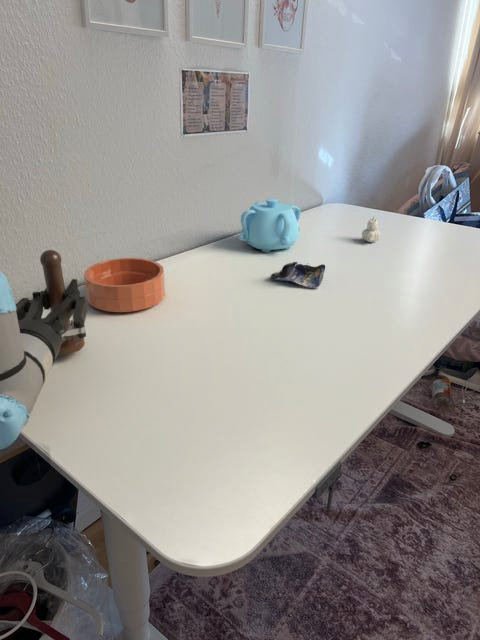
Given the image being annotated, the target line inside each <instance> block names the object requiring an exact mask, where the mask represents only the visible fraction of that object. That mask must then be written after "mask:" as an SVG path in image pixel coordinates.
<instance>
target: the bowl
mask: <svg viewBox="0 0 480 640" xmlns="http://www.w3.org/2000/svg"><path fill="white" fill-rule="evenodd" d="M83 279H84V286H85V291H86V292H85V293H86V301H87V302H88V303H89V305H90V306H91V307H93V308H96V309H97V310H101V311H104V312H109V313H110V312H111V313H112V312H113V313H132V312H136V311H137V312H138V311H141V310H145V309H149V308H151V307H153V306H156V305H157V304H158V303H160V302H162V301H163V299H164V298H165V296H166V287H165V286H166V285H165V270H164V266H163V265H162V264H160V263H159V262H157V261H155V260H152V259H147V258H141V257H140V258H139V257H120V258H119V257H117V258H113V259H107V260H103V261H100V262H96V263H94V264H92V265H90V266H89V267H88V268H87V269H85V271H84V274H83Z"/></svg>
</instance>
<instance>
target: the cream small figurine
mask: <svg viewBox="0 0 480 640" xmlns="http://www.w3.org/2000/svg"><path fill="white" fill-rule="evenodd" d="M378 227H379V222H378V220H377V218H375V215H373V217H372V218H369V220H368V222H367V224H366V229H364V230H362V232H361V239H362V240H364V241H365V242H367V243H376V242H377V241H379V240H380V238H381V232H380V231H379V229H378Z"/></svg>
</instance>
